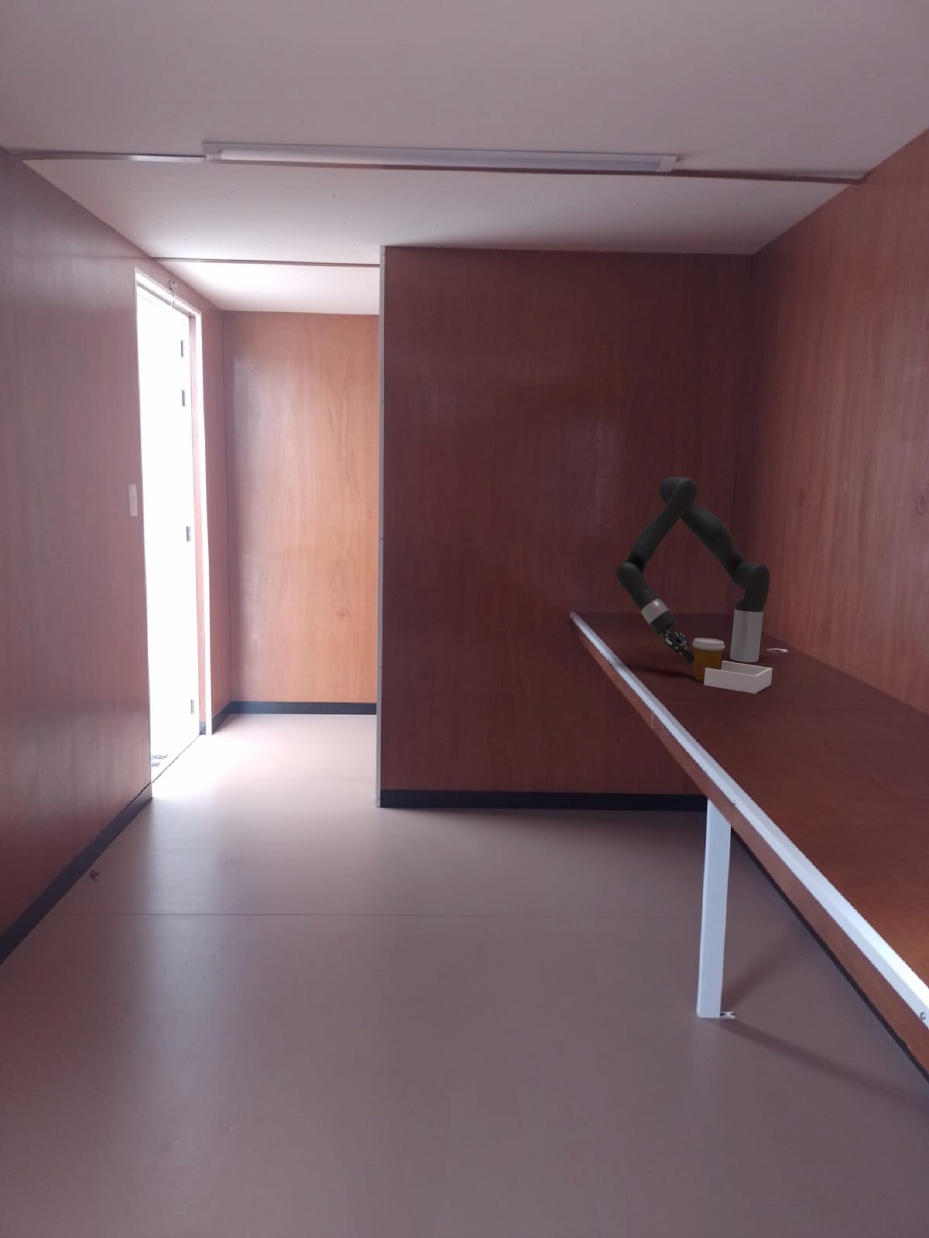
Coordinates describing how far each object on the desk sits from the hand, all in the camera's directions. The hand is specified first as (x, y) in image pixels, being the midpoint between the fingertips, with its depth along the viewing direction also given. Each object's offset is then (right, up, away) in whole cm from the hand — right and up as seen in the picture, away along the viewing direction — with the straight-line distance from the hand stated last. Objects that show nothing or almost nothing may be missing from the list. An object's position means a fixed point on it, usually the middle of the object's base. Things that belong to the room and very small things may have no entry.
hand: (693, 661), depth 272 cm
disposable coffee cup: (+3, -6, -2) cm, 7 cm away
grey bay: (+11, -7, -7) cm, 15 cm away
